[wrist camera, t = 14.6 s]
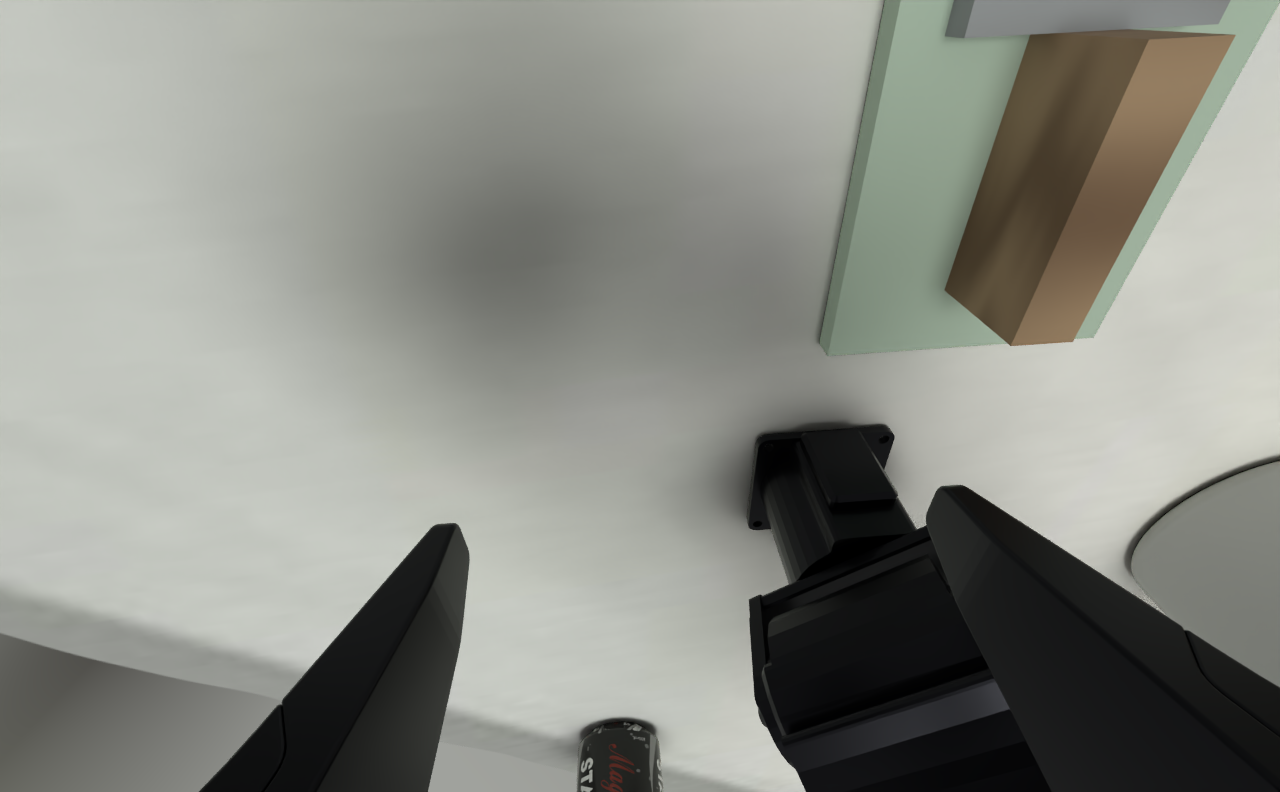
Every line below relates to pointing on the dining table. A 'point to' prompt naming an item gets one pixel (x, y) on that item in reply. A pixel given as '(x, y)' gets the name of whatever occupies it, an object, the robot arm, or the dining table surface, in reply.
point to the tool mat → (960, 176)
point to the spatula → (1075, 150)
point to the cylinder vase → (1221, 567)
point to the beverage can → (619, 760)
